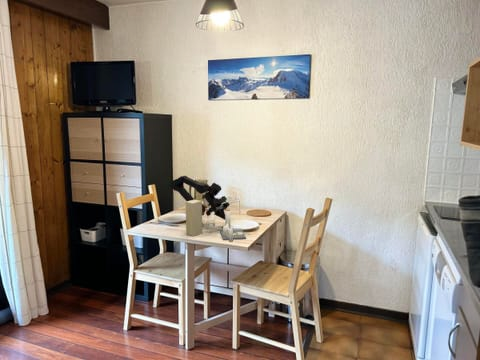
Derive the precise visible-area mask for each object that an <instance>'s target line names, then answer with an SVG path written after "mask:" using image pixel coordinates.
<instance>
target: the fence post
mask: <svg viewBox="0 0 480 360" xmlns="http://www.w3.org/2000/svg"><path fill="white" fill-rule="evenodd" d="M224 213H225V220H224V221H225V223H224V224H225V225H228V226H229V228H232V227H231V209H230V208H229V207H227V208H226V209H225V210H224ZM225 225H224V226H225Z"/></svg>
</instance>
